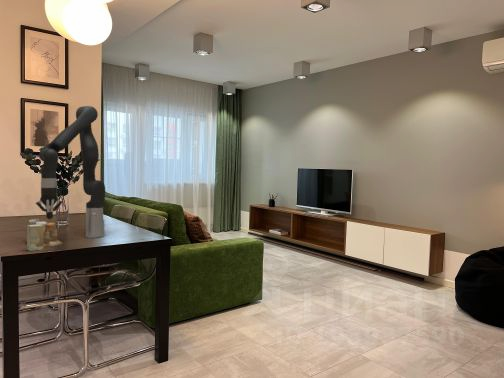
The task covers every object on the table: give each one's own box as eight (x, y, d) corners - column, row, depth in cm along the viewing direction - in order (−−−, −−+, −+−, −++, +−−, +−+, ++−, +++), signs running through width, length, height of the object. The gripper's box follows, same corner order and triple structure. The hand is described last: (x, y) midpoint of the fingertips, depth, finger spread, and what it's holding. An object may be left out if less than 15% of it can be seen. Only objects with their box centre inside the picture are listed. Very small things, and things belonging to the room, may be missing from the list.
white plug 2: (45, 234, 196) (45, 221, 195) (47, 236, 192) (47, 222, 192) (34, 235, 192) (34, 221, 192) (37, 237, 189) (37, 223, 188)
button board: (52, 239, 208) (52, 226, 208) (62, 244, 196) (62, 231, 195) (26, 241, 199) (26, 228, 199) (34, 247, 187) (34, 234, 186)
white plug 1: (38, 232, 202) (38, 218, 201) (40, 233, 198) (40, 220, 198) (28, 233, 199) (28, 219, 198) (30, 234, 195) (30, 220, 195)
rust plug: (53, 235, 202) (52, 222, 202) (55, 236, 199) (55, 223, 198) (43, 236, 199) (43, 222, 199) (45, 237, 196) (45, 224, 195)
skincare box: (29, 251, 179) (29, 226, 179) (26, 249, 182) (26, 225, 182) (44, 249, 184) (44, 225, 183) (40, 247, 187) (40, 223, 186)
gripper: (60, 185, 204) (60, 217, 206) (33, 186, 195) (33, 219, 197) (64, 186, 199) (65, 218, 200) (36, 187, 190) (37, 221, 191)
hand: (49, 218), depth 199 cm, fingers closed
